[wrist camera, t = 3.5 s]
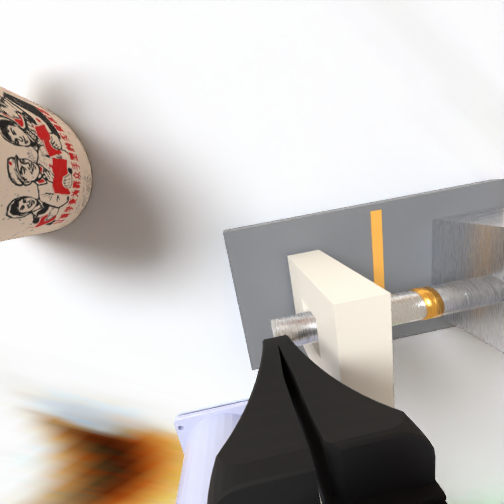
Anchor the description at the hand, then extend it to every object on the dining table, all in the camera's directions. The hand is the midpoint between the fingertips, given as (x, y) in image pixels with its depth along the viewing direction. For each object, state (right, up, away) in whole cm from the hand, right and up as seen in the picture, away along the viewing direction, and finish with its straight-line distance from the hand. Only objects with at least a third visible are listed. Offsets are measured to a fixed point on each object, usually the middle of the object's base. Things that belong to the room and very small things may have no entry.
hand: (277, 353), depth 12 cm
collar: (+3, +2, +6) cm, 7 cm away
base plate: (+8, +3, +8) cm, 12 cm away
